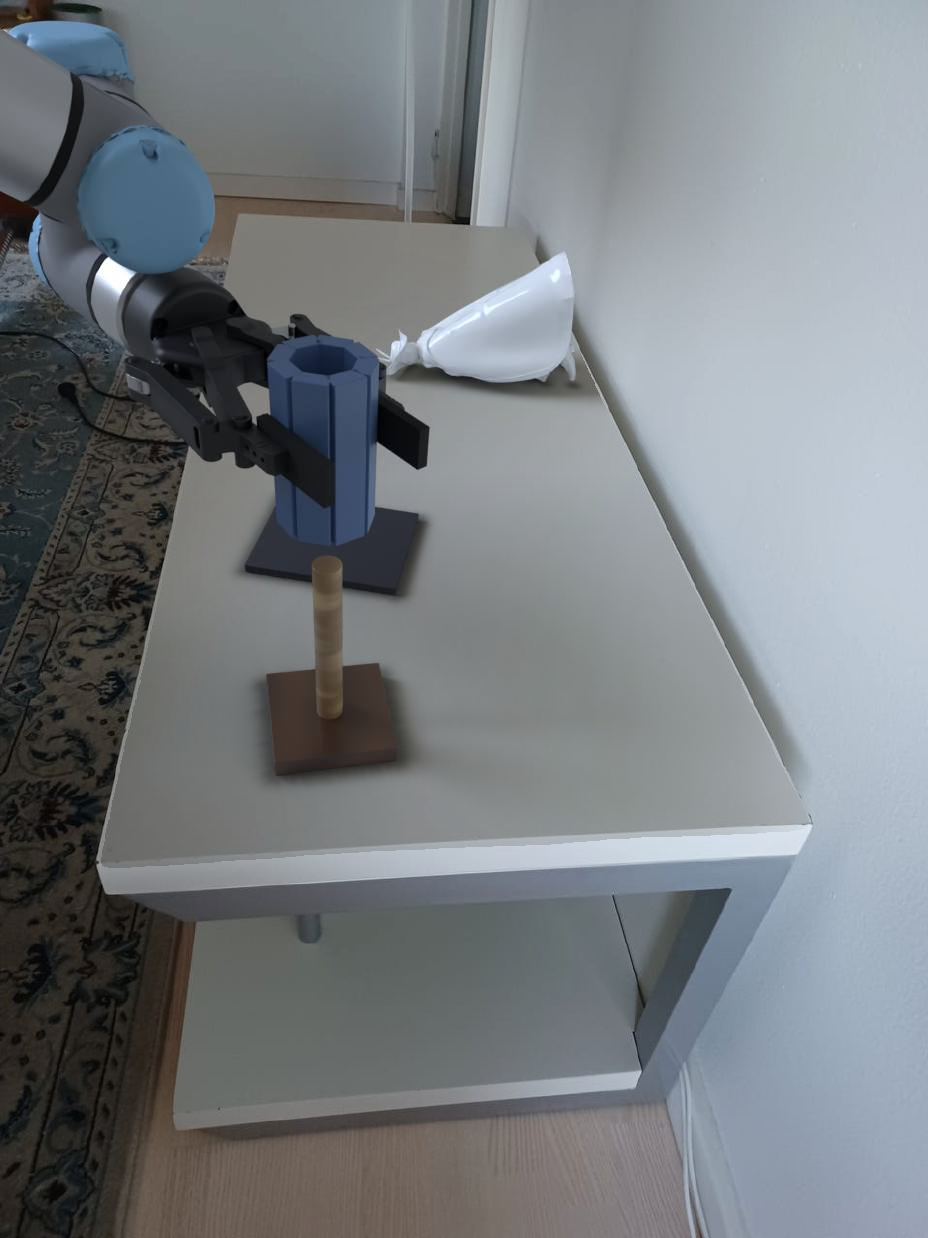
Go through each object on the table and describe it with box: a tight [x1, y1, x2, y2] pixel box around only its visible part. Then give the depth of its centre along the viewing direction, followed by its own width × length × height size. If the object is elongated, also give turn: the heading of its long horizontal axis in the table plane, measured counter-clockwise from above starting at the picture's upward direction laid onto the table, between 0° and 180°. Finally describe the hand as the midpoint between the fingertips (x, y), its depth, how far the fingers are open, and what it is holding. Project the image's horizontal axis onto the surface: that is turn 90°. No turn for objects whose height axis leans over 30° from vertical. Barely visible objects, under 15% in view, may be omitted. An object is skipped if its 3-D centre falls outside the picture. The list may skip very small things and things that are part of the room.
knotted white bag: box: [375, 251, 577, 383], centre depth 111 cm, size 14×16×25 cm
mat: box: [244, 505, 420, 596], centre depth 86 cm, size 14×12×1 cm
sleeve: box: [267, 335, 380, 546], centre depth 55 cm, size 6×6×11 cm
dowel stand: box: [265, 555, 399, 776], centre depth 65 cm, size 9×9×16 cm
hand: (377, 466), depth 52 cm, fingers closed on sleeve, 6 cm apart
